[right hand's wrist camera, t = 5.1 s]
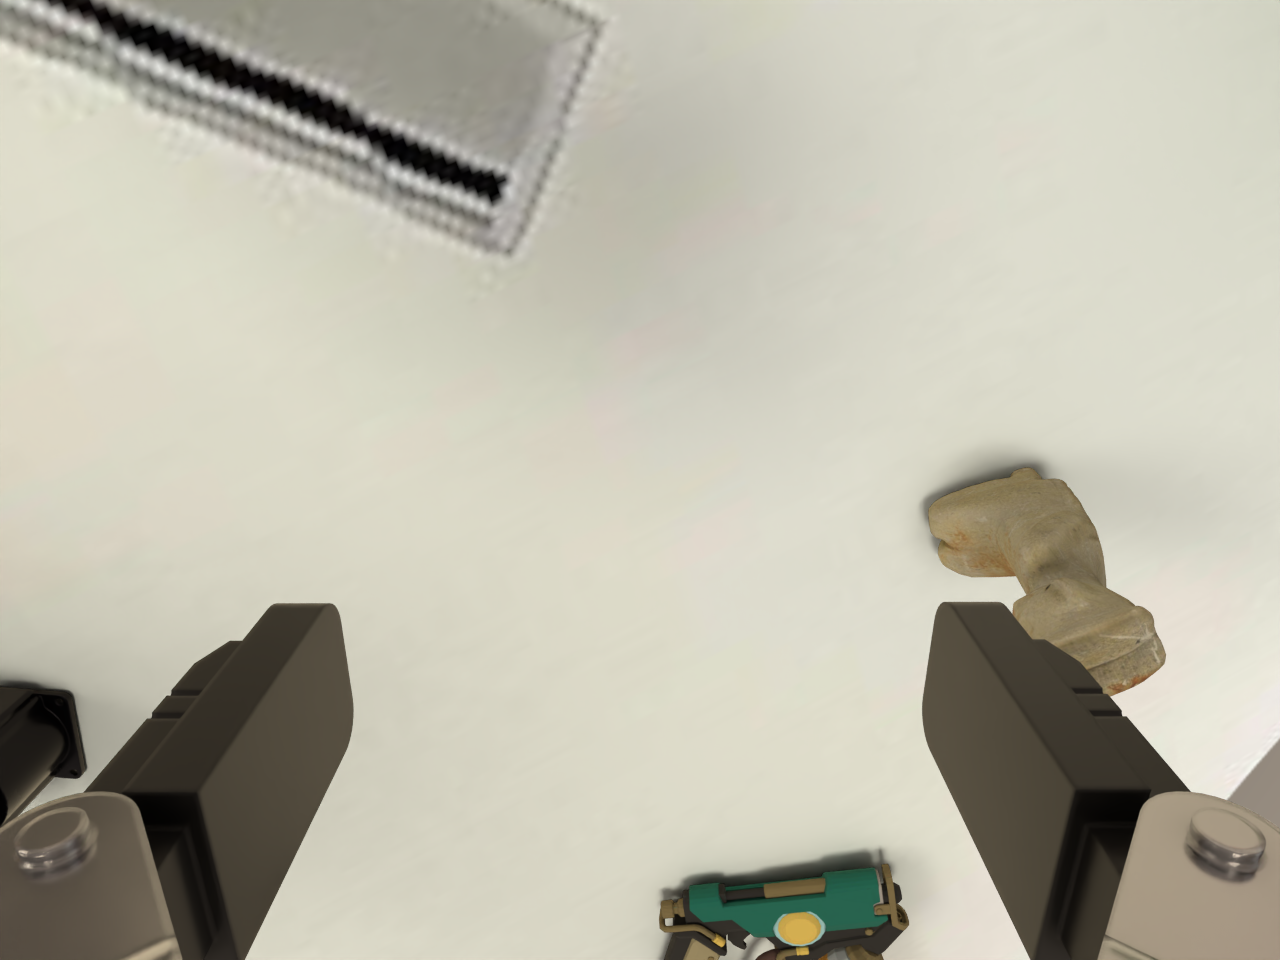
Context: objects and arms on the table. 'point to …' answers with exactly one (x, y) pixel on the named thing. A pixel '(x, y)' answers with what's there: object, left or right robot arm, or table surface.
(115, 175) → the table surface
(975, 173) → the table surface
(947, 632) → the right robot arm
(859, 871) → the spray gun
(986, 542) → the sculpture
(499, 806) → the table surface
